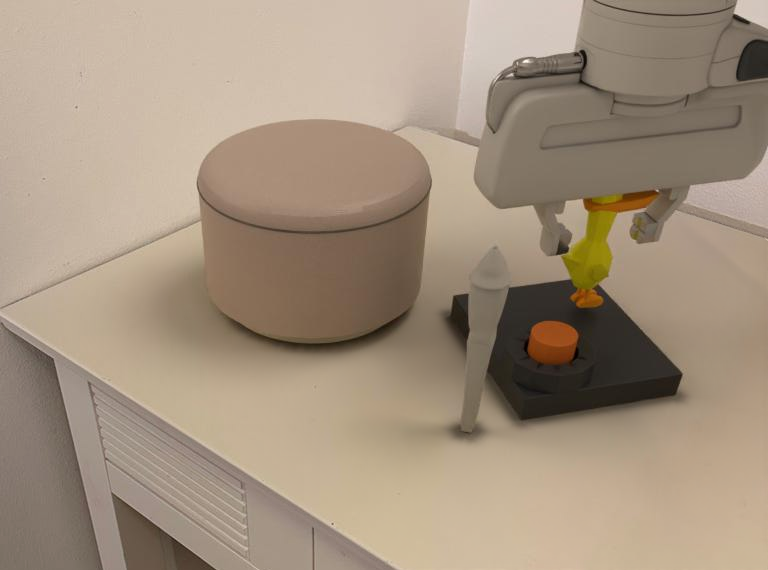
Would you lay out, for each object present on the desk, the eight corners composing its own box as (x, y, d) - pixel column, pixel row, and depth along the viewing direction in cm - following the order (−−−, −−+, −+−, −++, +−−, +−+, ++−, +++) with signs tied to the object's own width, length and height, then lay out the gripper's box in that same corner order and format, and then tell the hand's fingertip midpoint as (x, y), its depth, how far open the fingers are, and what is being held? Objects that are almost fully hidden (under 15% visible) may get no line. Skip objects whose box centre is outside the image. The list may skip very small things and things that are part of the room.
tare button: (561, 338, 64) (565, 317, 63) (581, 363, 62) (586, 342, 61) (519, 344, 64) (523, 323, 62) (538, 370, 61) (543, 348, 60)
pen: (445, 436, 61) (469, 252, 51) (453, 413, 63) (478, 231, 53) (481, 444, 60) (513, 259, 51) (488, 421, 62) (521, 237, 53)
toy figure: (614, 284, 71) (656, 132, 62) (639, 306, 68) (687, 152, 60) (538, 295, 69) (571, 142, 61) (560, 319, 67) (598, 162, 59)
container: (462, 287, 75) (480, 151, 67) (325, 383, 66) (327, 237, 58) (304, 224, 84) (303, 97, 76) (162, 299, 75) (145, 163, 67)
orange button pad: (586, 296, 74) (595, 258, 72) (676, 395, 64) (690, 355, 62) (449, 315, 72) (454, 277, 70) (520, 420, 62) (528, 380, 60)
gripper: (513, 77, 52) (482, 285, 61) (820, 46, 55) (746, 248, 65) (473, 44, 57) (450, 242, 66) (759, 17, 60) (698, 210, 69)
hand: (599, 245), depth 65 cm, fingers closed on toy figure, 6 cm apart
